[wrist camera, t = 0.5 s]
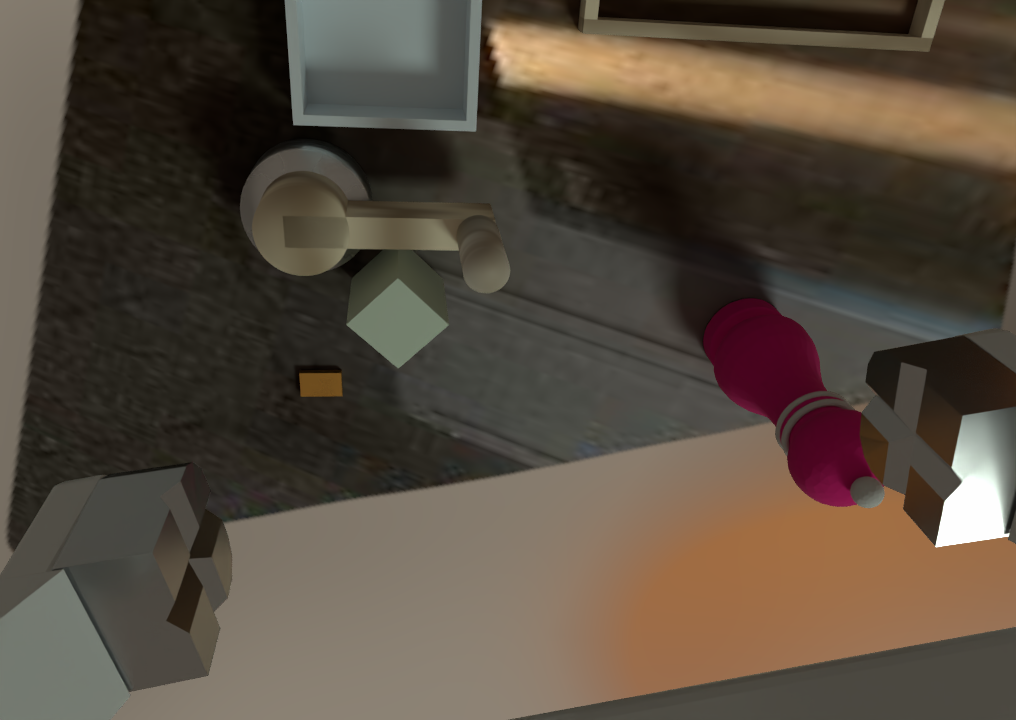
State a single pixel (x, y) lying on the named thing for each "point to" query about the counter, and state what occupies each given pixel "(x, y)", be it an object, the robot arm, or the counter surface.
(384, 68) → the tray
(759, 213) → the counter surface
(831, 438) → the pepper mill
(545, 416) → the counter surface
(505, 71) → the counter surface
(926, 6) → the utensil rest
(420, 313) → the block
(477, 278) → the crank
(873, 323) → the counter surface
